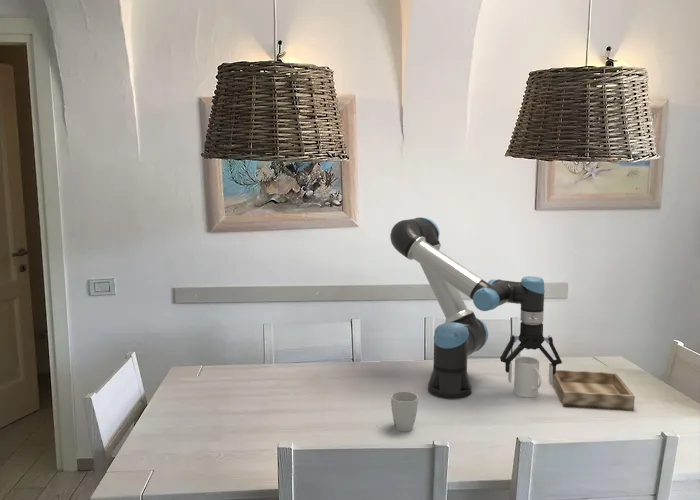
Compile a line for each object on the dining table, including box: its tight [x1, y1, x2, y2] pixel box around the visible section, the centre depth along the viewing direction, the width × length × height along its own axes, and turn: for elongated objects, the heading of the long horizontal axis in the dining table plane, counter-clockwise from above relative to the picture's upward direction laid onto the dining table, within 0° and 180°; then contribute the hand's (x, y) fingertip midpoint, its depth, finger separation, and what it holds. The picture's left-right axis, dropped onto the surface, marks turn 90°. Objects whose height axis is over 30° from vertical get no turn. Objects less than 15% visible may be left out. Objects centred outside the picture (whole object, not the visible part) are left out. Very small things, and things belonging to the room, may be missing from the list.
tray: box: [551, 369, 636, 412], centre depth 209 cm, size 22×22×5 cm
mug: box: [512, 355, 542, 399], centre depth 210 cm, size 12×8×12 cm
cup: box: [390, 390, 419, 432], centre depth 183 cm, size 8×8×10 cm
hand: (530, 382), depth 210 cm, fingers open, 13 cm apart
